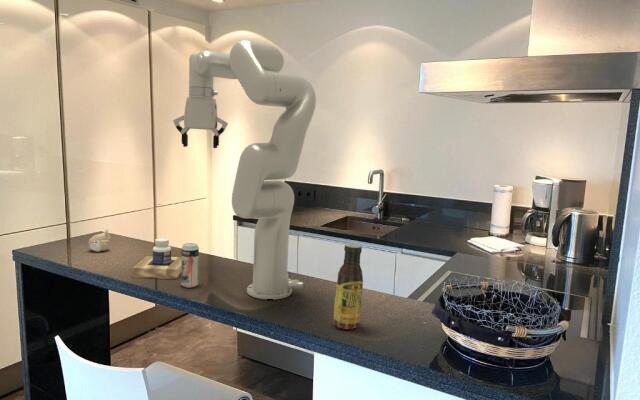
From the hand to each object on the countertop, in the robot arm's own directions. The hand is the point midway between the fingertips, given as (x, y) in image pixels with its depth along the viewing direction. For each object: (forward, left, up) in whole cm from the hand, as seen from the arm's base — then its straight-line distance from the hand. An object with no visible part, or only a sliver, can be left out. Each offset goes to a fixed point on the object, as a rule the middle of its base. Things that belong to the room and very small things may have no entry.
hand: (200, 147), depth 154 cm
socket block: (+8, +14, -38) cm, 41 cm away
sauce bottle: (-46, +49, -38) cm, 77 cm away
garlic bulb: (+36, -7, -38) cm, 53 cm away
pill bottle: (+8, +14, -38) cm, 41 cm away
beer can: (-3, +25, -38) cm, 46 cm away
